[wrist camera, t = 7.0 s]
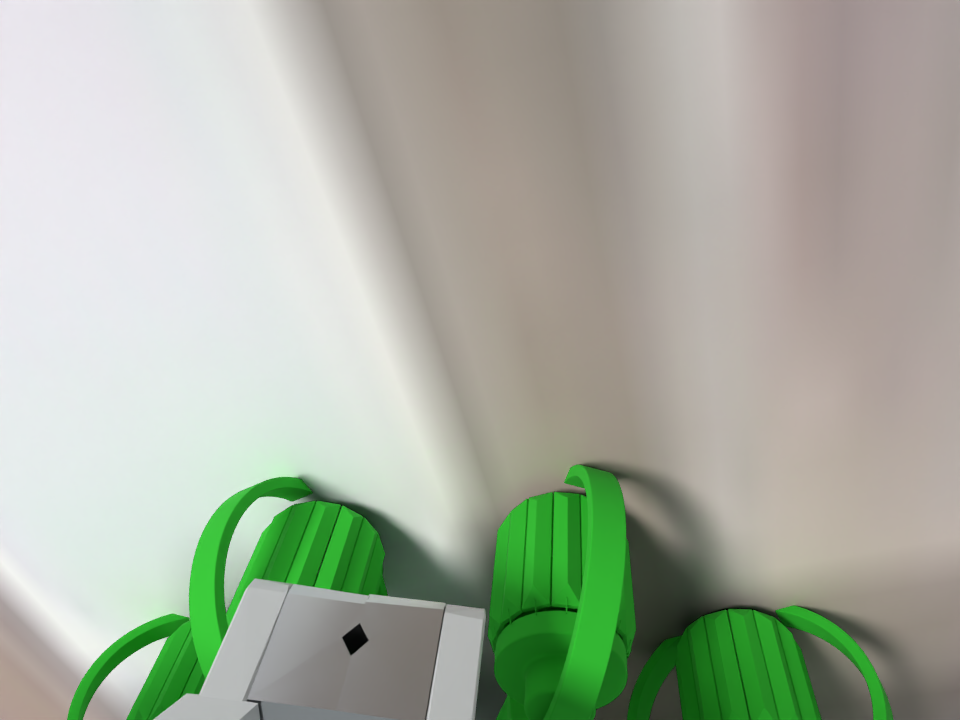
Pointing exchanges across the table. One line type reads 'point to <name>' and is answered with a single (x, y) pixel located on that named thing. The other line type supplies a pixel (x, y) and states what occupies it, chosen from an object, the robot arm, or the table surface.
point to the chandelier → (505, 614)
